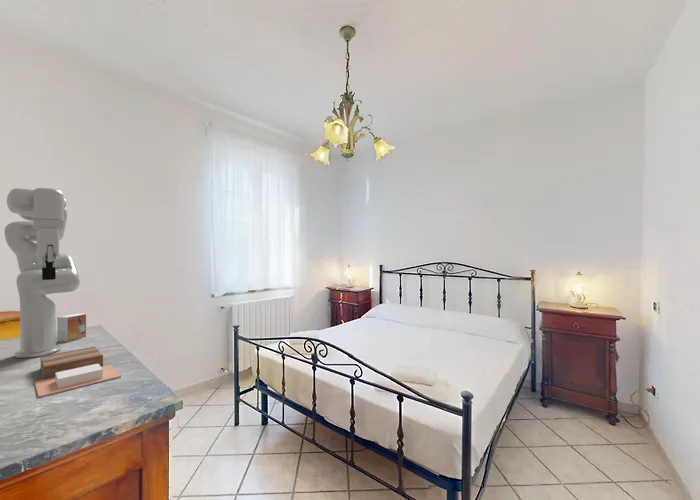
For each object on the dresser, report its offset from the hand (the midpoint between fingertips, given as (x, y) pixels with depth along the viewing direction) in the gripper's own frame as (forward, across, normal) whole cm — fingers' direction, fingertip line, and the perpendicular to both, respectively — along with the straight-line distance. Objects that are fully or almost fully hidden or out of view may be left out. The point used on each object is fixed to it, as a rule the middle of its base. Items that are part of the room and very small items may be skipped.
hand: (48, 279), depth 106 cm
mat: (+29, +23, +5) cm, 38 cm away
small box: (+29, -35, +10) cm, 47 cm away
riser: (+29, +9, +5) cm, 31 cm away
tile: (+27, +24, +5) cm, 37 cm away
